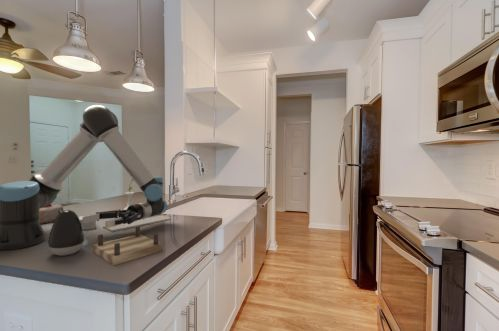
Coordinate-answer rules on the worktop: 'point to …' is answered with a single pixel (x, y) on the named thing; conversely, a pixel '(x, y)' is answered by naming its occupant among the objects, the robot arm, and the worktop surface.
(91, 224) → the small box
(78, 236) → the dark grey bell shape
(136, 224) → the baseboard
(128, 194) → the flower in vase
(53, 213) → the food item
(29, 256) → the worktop surface
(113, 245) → the oak stand
